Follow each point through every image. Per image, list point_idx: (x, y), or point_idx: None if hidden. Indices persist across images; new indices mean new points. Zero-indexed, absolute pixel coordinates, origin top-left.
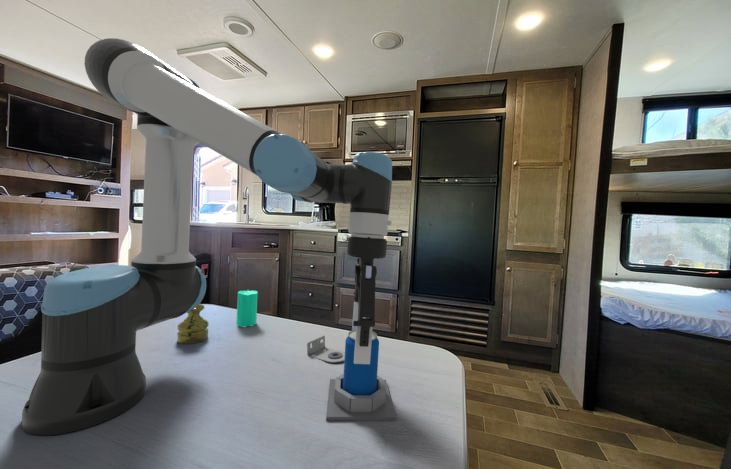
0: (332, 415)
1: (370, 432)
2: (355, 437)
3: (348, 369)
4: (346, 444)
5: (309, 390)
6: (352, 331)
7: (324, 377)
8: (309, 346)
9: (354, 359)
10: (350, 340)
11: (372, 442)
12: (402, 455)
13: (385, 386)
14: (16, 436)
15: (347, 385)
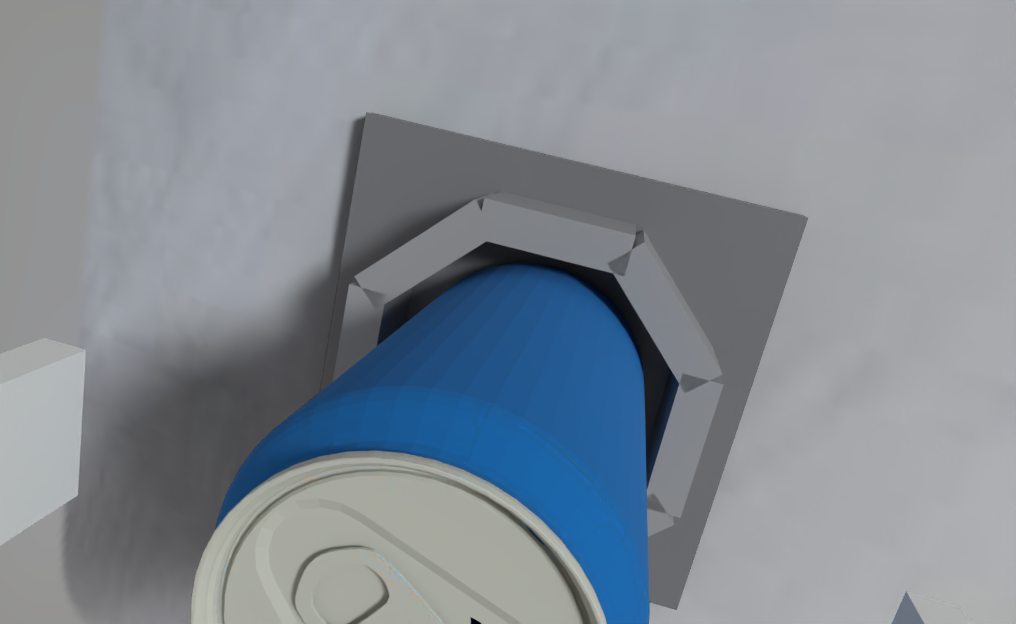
0: (371, 153)
1: (249, 331)
2: (227, 246)
3: (407, 325)
4: (189, 189)
5: (725, 35)
6: (569, 568)
7: (888, 183)
8: None
9: (3, 353)
10: (326, 442)
11: (187, 317)
12: (105, 415)
13: None
14: None
15: (448, 293)
